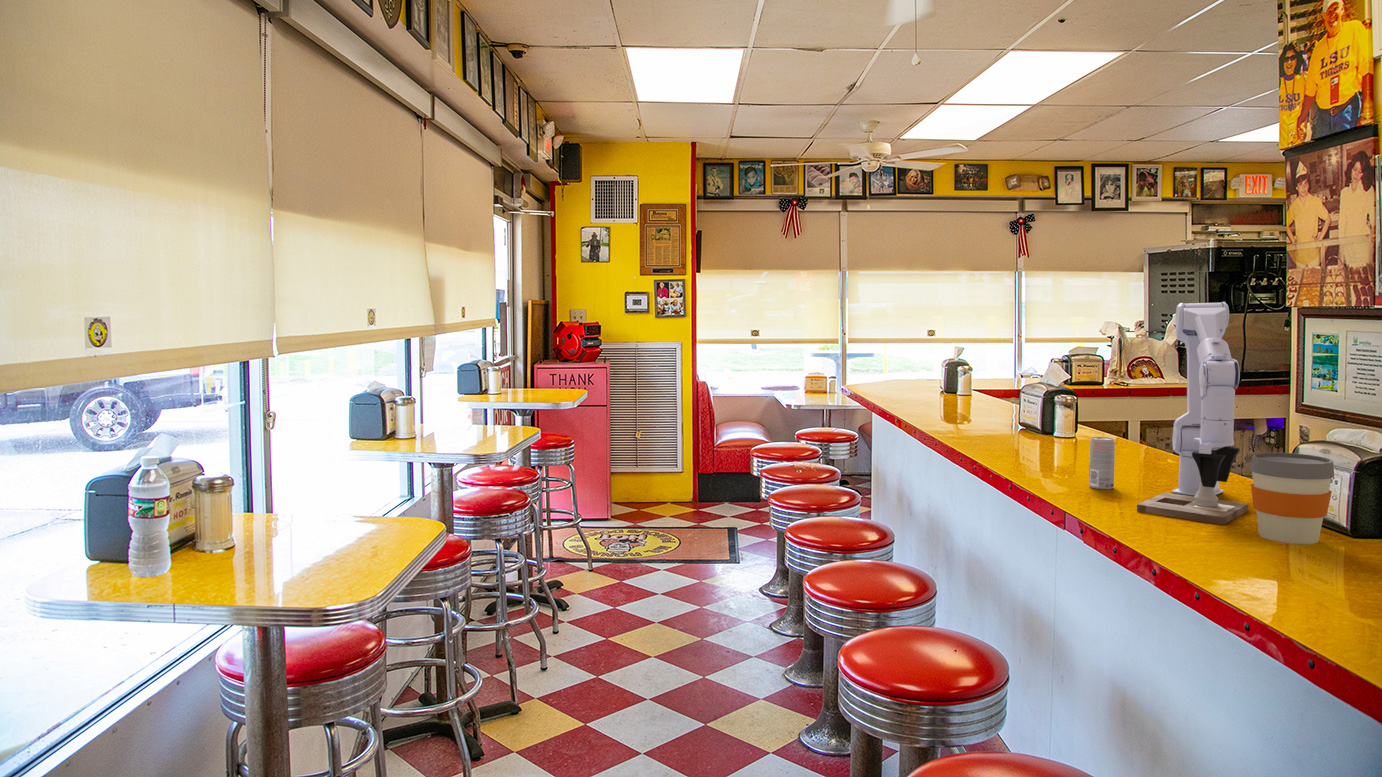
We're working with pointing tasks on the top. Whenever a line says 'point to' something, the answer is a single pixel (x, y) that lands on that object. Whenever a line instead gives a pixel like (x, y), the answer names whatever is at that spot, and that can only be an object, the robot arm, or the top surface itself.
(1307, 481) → the reusable coffee cup
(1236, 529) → the top surface
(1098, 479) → the energy drink
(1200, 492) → the rook chess piece
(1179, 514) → the hole board
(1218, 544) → the top surface
